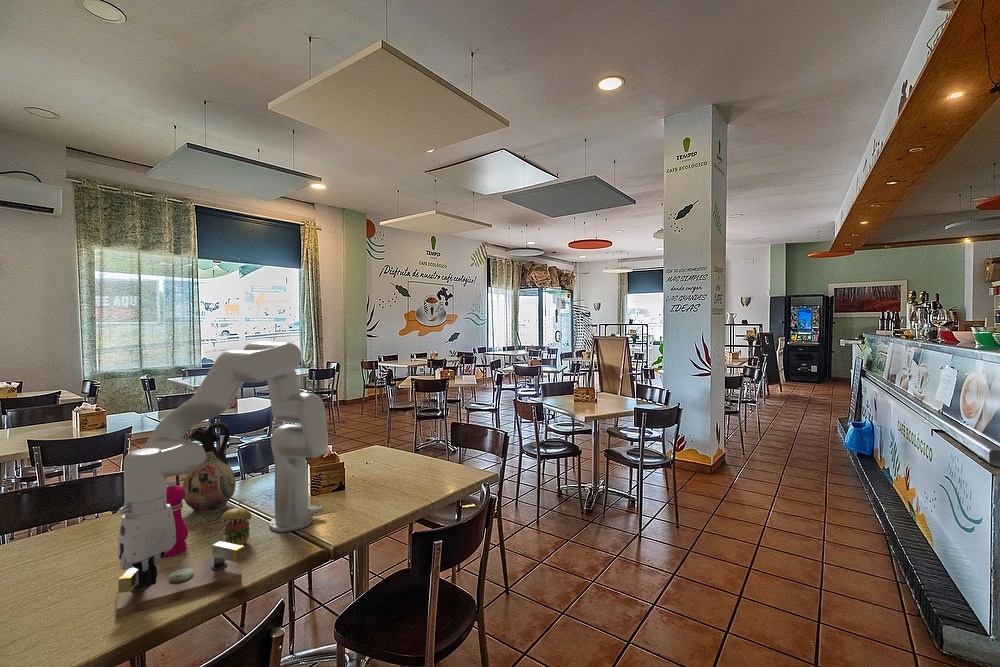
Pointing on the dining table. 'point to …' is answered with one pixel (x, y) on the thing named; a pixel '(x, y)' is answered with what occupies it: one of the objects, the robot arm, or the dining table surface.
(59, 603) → the dining table surface
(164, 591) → the level plate
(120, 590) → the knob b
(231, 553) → the gold-tipped grey bar
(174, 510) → the pepper mill
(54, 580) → the dining table surface
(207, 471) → the ceramic jug
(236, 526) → the hamburger
